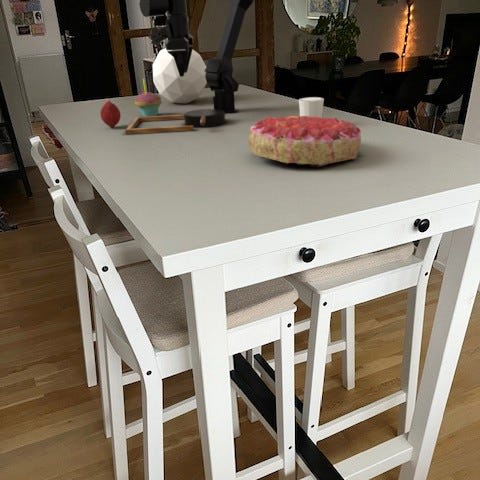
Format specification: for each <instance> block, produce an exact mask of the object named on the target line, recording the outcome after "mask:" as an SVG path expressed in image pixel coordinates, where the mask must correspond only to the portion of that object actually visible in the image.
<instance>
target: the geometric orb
mask: <svg viewBox="0 0 480 480" xmlns="http://www.w3.org/2000/svg"><path fill="white" fill-rule="evenodd" d="M167 51H172V50H166V47H165V48H163V49H161V50H160V51H159V52H158V54H157V56H156V57H155V60H154V61H153V63H152V80H153V84H154V86H155V88H156V90H157V92H158V95H160V96H161V97H163V98H165V99H166V100H168V101H169V102H171V103H172V104H186V105H187V104H189V103H191V102H192V101H195V100H197V99H199V97H200V96H201V94H202V92H203V91H204V89H205V88H206V86H207V81H206V79H205V74H206V72H205V71H204V70H205V69H206V67H207V64H205V61H204V60H203V58H202V56H201V54H200V53H198V52H197V51H196V50H194V49H193V50H192V54H191V58H190V62H189V66H188V70H187V72H186V73H184V76H181V77H180V75H179V72H178V69H177V66H176V63H175V60H174V57H173V56H172V55H170V54H169V53H168V52H167Z"/></svg>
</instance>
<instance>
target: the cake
mask: <svg viewBox="0 0 480 480" xmlns="http://www.w3.org/2000/svg"><path fill="white" fill-rule="evenodd" d="M361 133H362V132H361V129H360V128H359V127H358V126H356V124H354V123H352V122H349V121H346V120H344V119H341V120H339V119H338V118H337V117H322V118H321V117H308V116H301V117H300V115H299V116H298V115H287V116H285V117H284V116H276V117H274V118H273V116H272V117H271V116H267V117H266V118H264V119H261V120H259V121H256V122H255V123H254V124H251V125H250V129H249V134H248V143H247V144H248V146H247V147H248V149H249V150H250V151H251V152H252V154H253V155H255V156H258V157H261V158H265V159H269V160H274V161H277V162H280V163H283V164H285V165H288V164H296V165H297V166H298V167H300V166H302V165H308V166H309V167H311V168H321V167H323V166H326V165H328V164H335V163H339V162H344V161H348V160H356V159H357V158H358V155H359V151H360V147H361V143H362V135H361Z"/></svg>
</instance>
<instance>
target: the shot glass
mask: <svg viewBox="0 0 480 480" xmlns="http://www.w3.org/2000/svg"><path fill="white" fill-rule="evenodd" d="M324 101H325V98H323V97H319V96H307V97H302V98H299V99H298V108H299V117H301V116H308V117H321V118H323V111H324V110H323V109H324Z"/></svg>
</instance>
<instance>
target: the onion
mask: <svg viewBox="0 0 480 480" xmlns="http://www.w3.org/2000/svg"><path fill="white" fill-rule="evenodd" d="M99 114H100V115H99V116H100V119H101V120H102V122H103V123H104V124H105V125H107V126H108V127H110V128H111V129H113V128H115V127H116V126H117V125H118V123H119V122H120V120H121V116H122V115H121V110H120V109H119V107H118V106H117V105H116V104H115V103H113V102H111V100H110V99H109V98H107V99H106V100H105V104H103V105H102V107H101V109H100V113H99Z"/></svg>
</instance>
